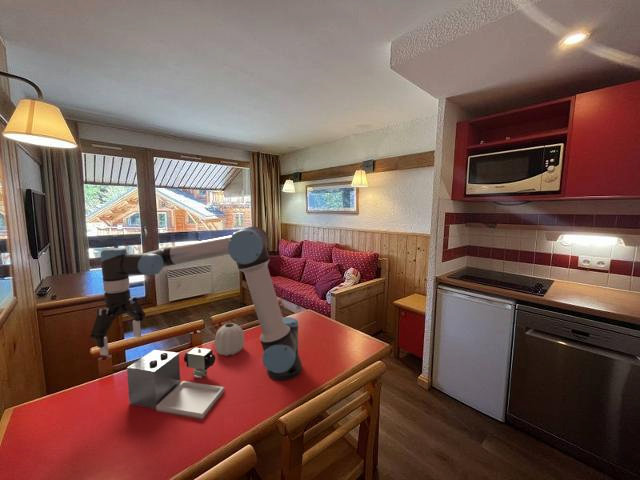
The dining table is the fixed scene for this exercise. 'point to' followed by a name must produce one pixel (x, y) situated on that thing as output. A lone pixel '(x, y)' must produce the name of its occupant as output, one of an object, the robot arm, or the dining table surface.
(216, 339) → the vase
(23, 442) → the dining table surface
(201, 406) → the parts tray
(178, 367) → the control box
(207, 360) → the pneumatic valve
